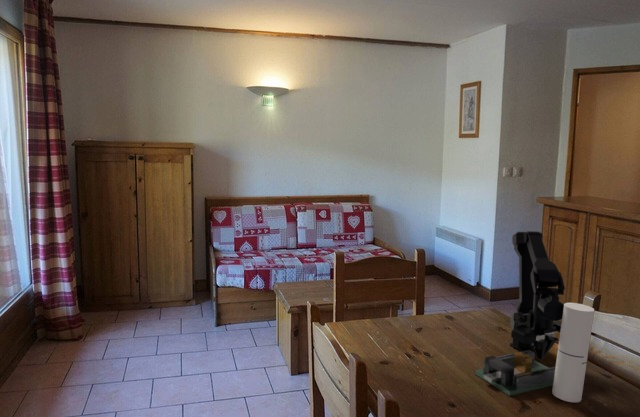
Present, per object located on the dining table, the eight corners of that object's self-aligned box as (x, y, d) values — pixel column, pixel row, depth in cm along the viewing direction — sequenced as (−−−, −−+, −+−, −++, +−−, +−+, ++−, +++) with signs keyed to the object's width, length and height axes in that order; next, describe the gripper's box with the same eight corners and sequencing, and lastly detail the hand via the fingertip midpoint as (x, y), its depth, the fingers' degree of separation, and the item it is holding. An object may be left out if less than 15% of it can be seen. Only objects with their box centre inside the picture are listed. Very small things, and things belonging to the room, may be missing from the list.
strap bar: (519, 369, 146) (520, 351, 145) (531, 375, 142) (532, 357, 141) (482, 377, 140) (483, 359, 140) (493, 383, 136) (494, 365, 136)
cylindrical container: (546, 388, 136) (558, 302, 133) (571, 389, 136) (583, 303, 133) (561, 402, 129) (574, 310, 126) (587, 402, 129) (600, 312, 126)
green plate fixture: (530, 362, 154) (531, 343, 153) (568, 381, 141) (569, 361, 140) (474, 374, 146) (475, 354, 145) (509, 395, 133) (510, 374, 132)
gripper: (545, 297, 155) (542, 344, 157) (499, 304, 148) (496, 353, 150) (575, 308, 144) (572, 358, 146) (527, 316, 138) (524, 368, 140)
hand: (540, 359), depth 146 cm, fingers closed
